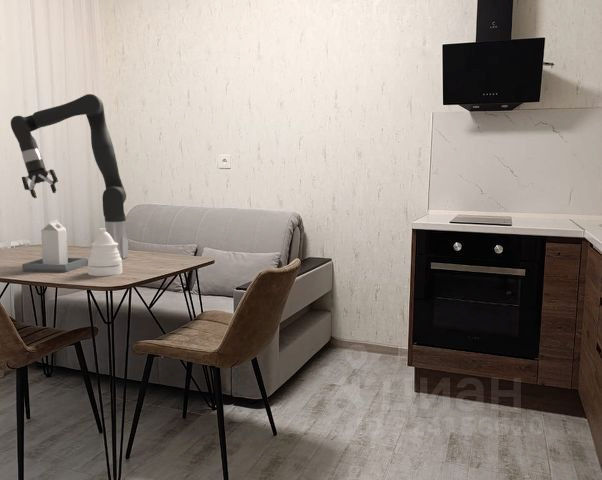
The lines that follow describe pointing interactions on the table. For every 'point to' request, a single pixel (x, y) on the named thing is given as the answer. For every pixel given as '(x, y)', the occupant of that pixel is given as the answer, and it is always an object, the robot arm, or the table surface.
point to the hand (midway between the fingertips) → (45, 195)
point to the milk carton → (54, 243)
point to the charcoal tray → (54, 265)
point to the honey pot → (104, 256)
